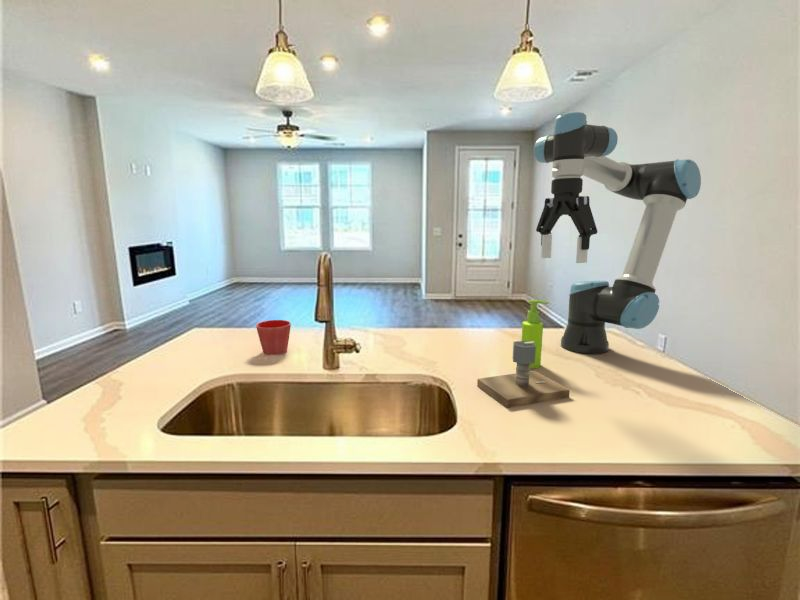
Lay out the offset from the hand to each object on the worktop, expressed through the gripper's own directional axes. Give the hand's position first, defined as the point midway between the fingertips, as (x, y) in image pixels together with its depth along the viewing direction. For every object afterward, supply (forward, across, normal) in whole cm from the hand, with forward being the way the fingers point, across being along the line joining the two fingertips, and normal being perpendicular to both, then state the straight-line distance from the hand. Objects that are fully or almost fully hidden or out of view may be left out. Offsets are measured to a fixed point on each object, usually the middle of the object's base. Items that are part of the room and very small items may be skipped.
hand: (562, 260), depth 113 cm
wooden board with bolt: (+32, +6, -16) cm, 37 cm away
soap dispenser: (+33, -10, -1) cm, 34 cm away
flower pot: (+31, -50, -74) cm, 95 cm away
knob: (+24, +6, -16) cm, 29 cm away
